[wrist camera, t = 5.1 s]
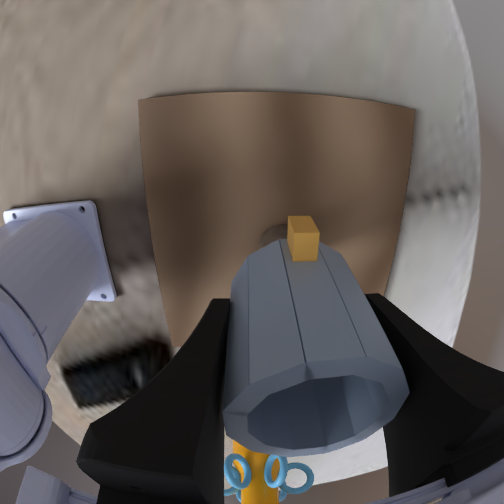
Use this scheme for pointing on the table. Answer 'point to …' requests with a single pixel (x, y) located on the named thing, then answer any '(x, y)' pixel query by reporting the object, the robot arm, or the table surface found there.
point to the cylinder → (260, 476)
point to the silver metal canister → (273, 235)
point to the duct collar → (305, 352)
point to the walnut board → (267, 185)
